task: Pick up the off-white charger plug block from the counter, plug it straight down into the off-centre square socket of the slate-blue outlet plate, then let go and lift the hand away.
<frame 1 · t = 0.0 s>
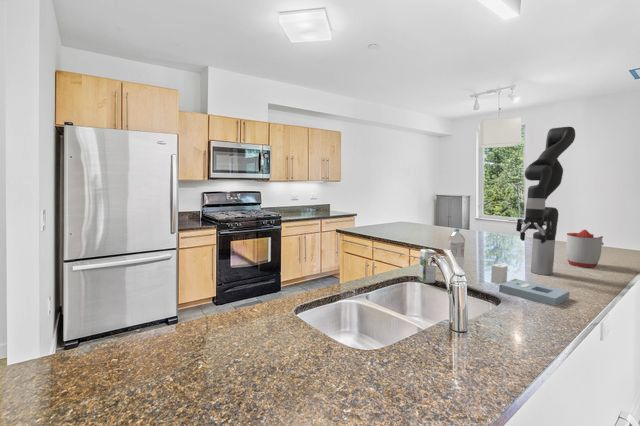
hand: (532, 241, 156), 17 cm above the countertop, tool pointing down, fingers open, 8 cm apart
citrus juicer: (583, 265, 181), on the countertop
water bottle: (454, 285, 146), on the countertop
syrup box: (427, 281, 150), on the countertop
outlet plate: (532, 294, 133), on the countertop
charger plug: (498, 282, 149), on the countertop
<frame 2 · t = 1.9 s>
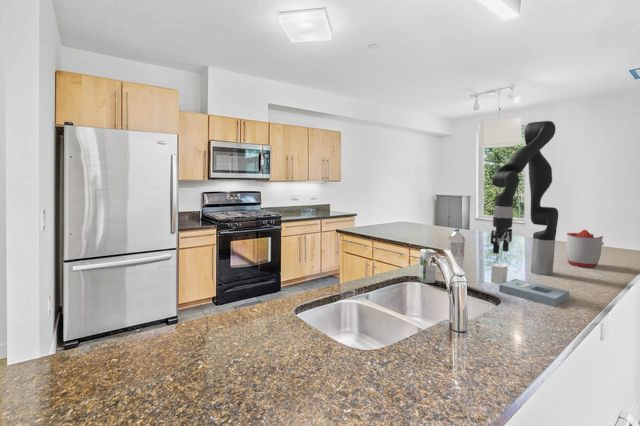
hand: (500, 252, 147), 14 cm above the countertop, tool pointing down, fingers open, 8 cm apart
nothing on the countertop moved.
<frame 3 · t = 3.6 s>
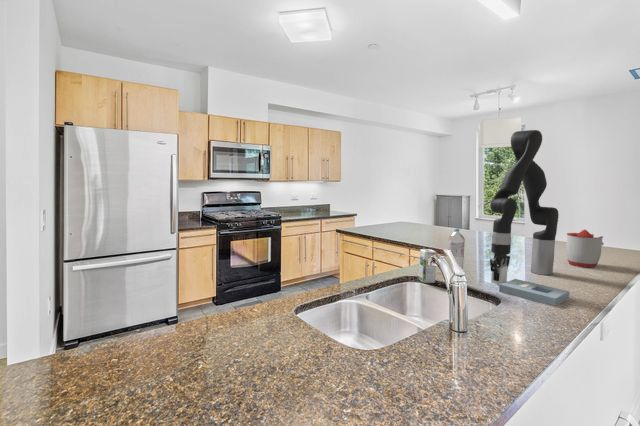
hand: (499, 279, 148), 2 cm above the countertop, tool pointing down, fingers closed on charger plug, 4 cm apart
charger plug: (498, 282, 149), on the countertop, touching gripper
everything else where it was.
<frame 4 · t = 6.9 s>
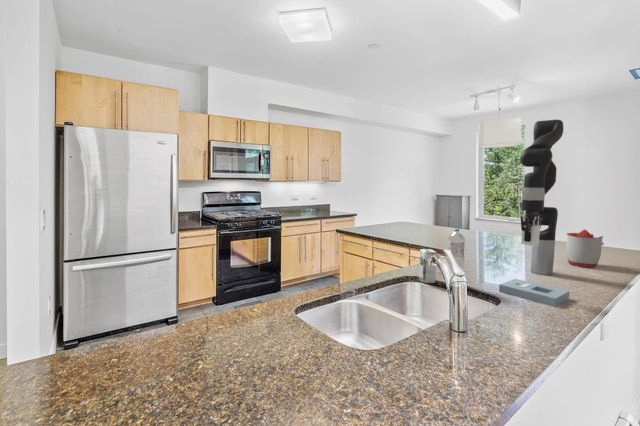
hand: (530, 240, 133), 22 cm above the countertop, tool pointing down, fingers closed on charger plug, 4 cm apart
charger plug: (529, 244, 134), point 20 cm above the countertop, touching gripper
everything else where it was.
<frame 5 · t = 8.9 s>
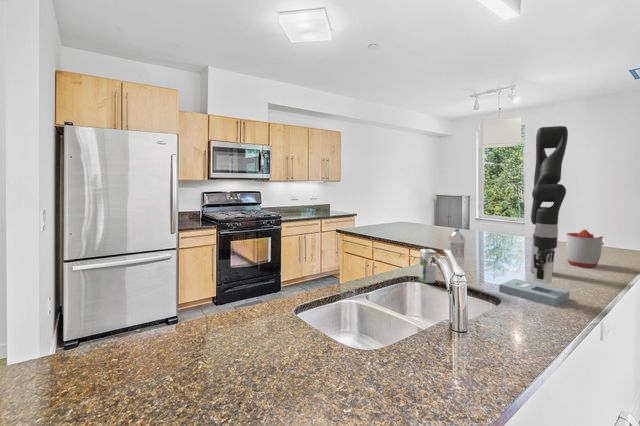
hand: (542, 277, 129), 8 cm above the countertop, tool pointing down, fingers closed on charger plug, 4 cm apart
charger plug: (542, 281, 130), point 6 cm above the countertop, touching gripper
everything else where it was.
when the fingers open (4 cm above the countertop, at t = 10.3 s): charger plug drops 2 cm, resting in outlet plate.
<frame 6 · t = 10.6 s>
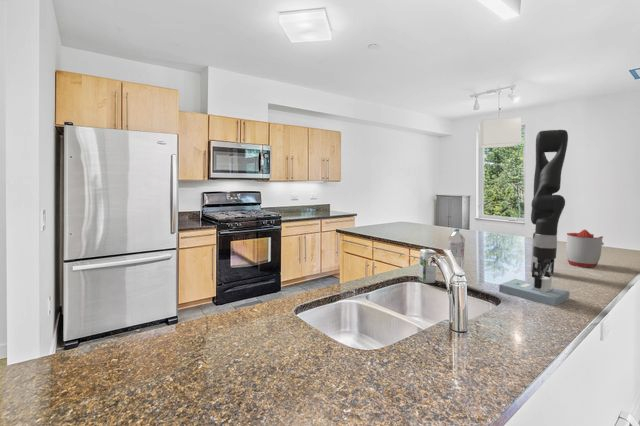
hand: (542, 286, 130), 4 cm above the countertop, tool pointing down, fingers open, 7 cm apart
charger plug: (541, 297, 130), resting in outlet plate
everything else where it was.
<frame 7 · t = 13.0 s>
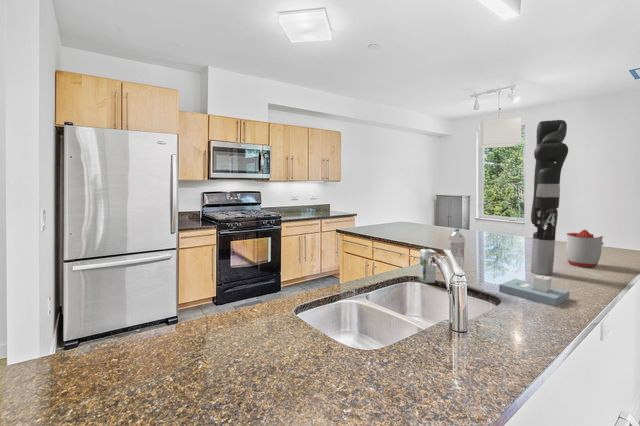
hand: (544, 236, 129), 24 cm above the countertop, tool pointing down, fingers open, 8 cm apart
nothing on the countertop moved.
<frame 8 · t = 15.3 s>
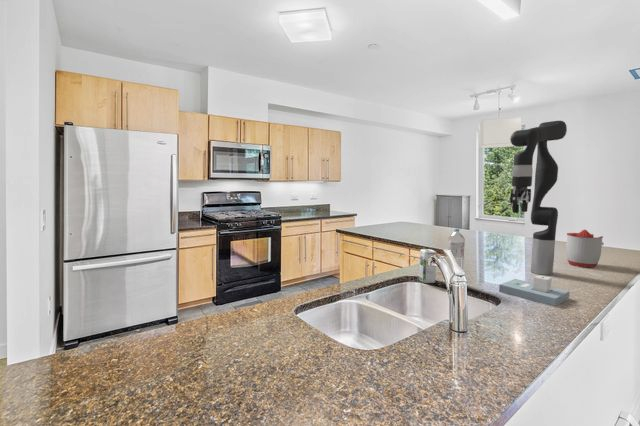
hand: (519, 212, 146), 32 cm above the countertop, tool pointing down, fingers open, 8 cm apart
nothing on the countertop moved.
at the end: charger plug 0.2 cm from the target spot on the outlet plate, point 0.0 cm above the outlet plate's base; charger plug tilted 0°; the gripper is holding nothing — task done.
